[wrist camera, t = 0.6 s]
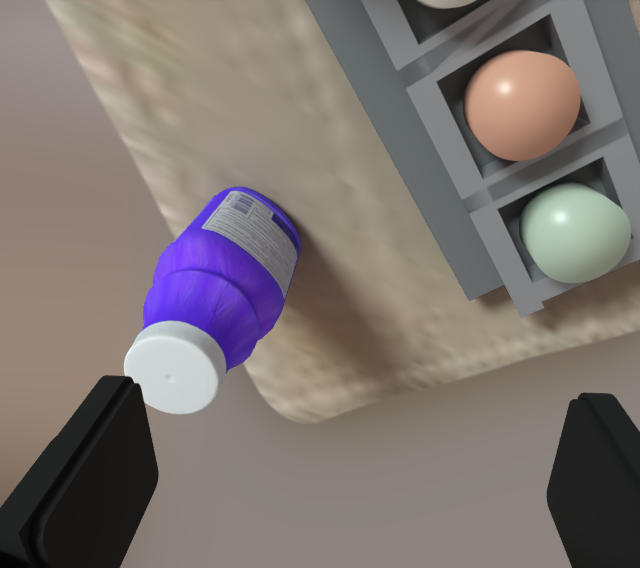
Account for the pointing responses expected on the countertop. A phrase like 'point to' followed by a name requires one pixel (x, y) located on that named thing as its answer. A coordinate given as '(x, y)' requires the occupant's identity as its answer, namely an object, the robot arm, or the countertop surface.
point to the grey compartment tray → (464, 148)
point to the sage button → (574, 232)
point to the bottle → (212, 299)
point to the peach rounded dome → (521, 103)
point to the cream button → (444, 3)
